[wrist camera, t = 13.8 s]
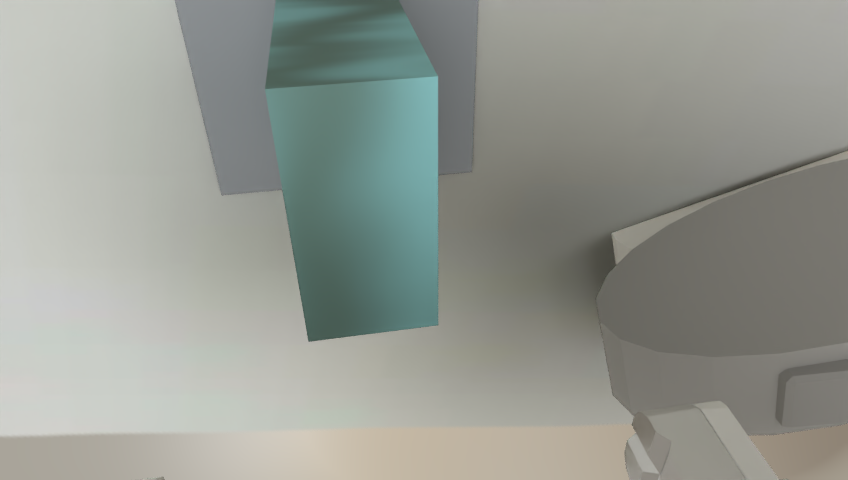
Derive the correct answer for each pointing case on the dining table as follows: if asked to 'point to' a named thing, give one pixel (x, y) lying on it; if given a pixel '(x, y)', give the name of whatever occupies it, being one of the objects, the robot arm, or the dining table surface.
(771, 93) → the dining table surface
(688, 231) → the alarm clock
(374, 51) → the teal tag
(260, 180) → the slate mat
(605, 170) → the dining table surface
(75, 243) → the dining table surface
